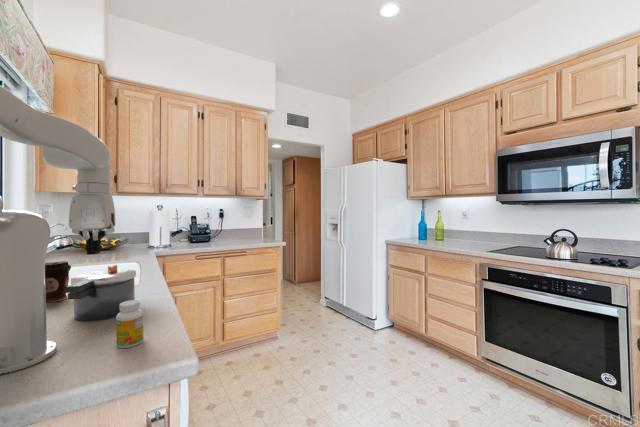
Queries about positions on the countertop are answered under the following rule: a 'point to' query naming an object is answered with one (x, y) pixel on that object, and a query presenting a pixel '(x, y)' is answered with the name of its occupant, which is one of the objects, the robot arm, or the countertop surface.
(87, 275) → the cooker lid
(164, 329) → the countertop surface
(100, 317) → the cooker pot
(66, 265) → the coffee cup
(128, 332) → the supplement bottle
